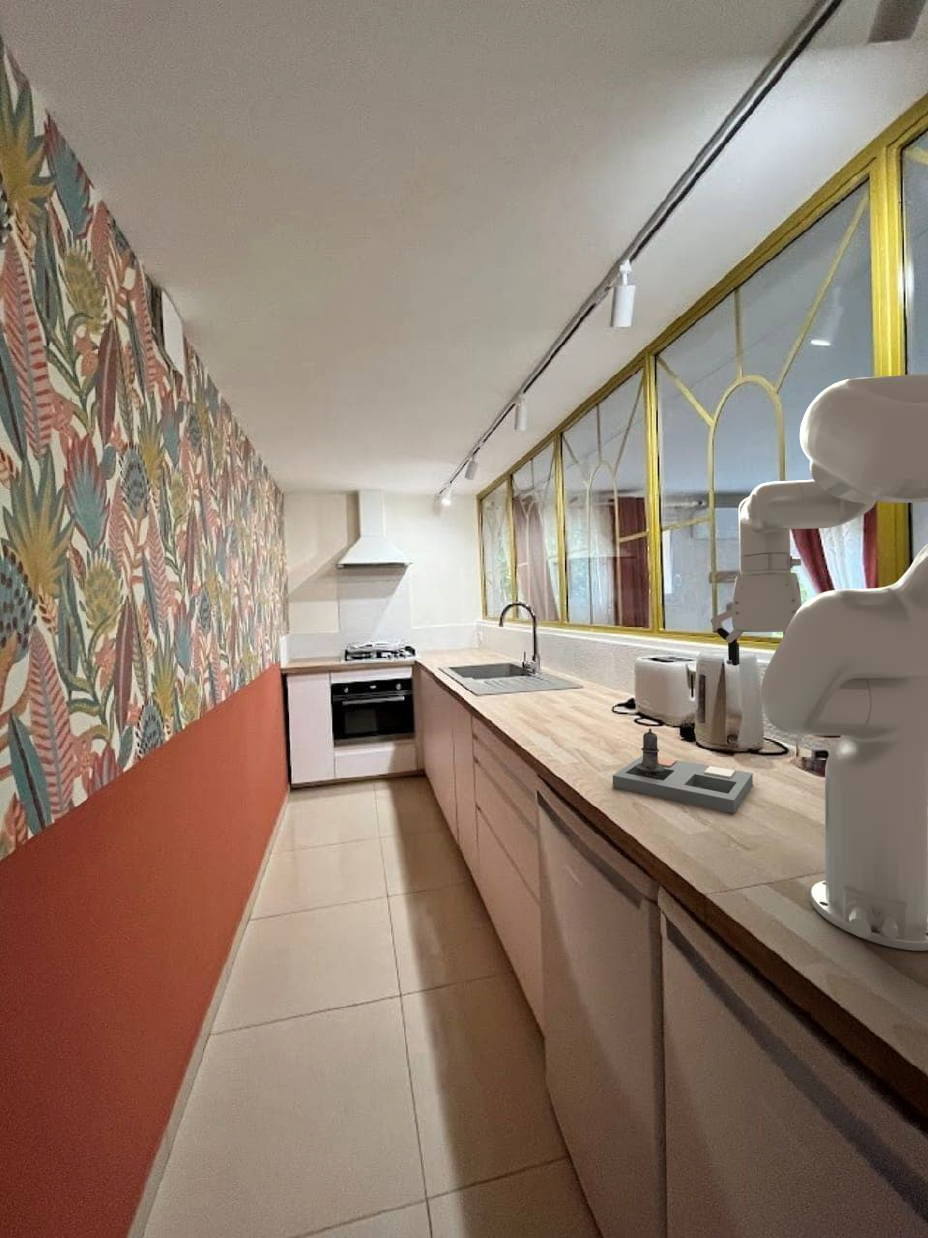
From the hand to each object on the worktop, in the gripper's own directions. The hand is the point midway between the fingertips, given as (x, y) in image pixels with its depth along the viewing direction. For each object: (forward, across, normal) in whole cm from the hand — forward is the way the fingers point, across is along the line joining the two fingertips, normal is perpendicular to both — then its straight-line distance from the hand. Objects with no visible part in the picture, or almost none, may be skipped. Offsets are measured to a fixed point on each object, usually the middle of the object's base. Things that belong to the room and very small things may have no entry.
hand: (767, 666), depth 85 cm
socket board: (+27, +17, -13) cm, 34 cm away
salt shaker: (+27, +23, -10) cm, 37 cm away
